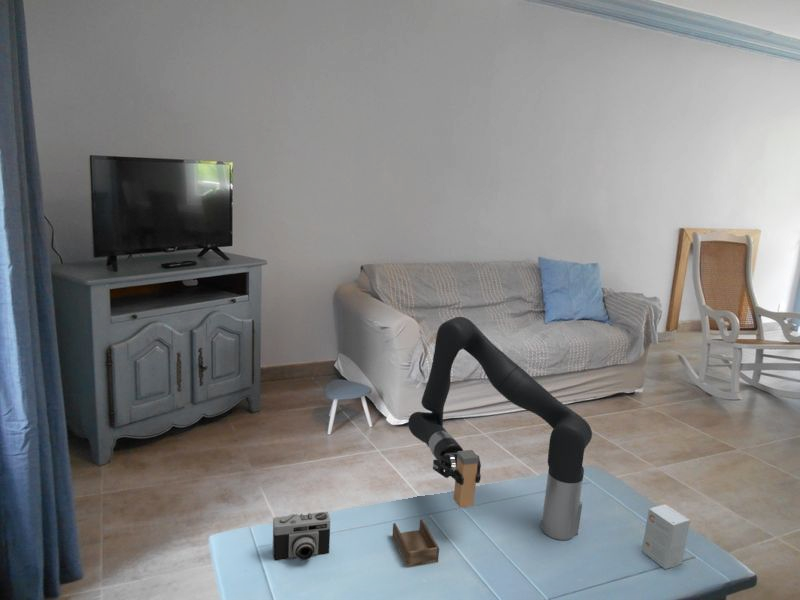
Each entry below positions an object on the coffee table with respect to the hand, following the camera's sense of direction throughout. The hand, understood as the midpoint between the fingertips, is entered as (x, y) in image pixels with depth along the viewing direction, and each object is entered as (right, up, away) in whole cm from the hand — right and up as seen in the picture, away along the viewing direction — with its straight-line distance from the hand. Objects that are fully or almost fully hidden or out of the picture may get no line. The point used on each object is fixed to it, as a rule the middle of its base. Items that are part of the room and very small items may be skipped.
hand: (470, 480), depth 156 cm
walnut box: (-14, -18, +1) cm, 23 cm away
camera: (-43, -18, -4) cm, 47 cm away
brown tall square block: (-1, -7, +4) cm, 8 cm away
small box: (+51, -22, +4) cm, 56 cm away
